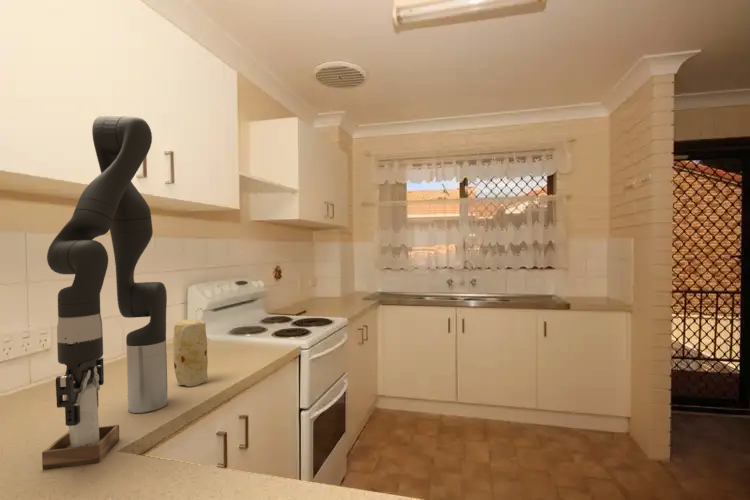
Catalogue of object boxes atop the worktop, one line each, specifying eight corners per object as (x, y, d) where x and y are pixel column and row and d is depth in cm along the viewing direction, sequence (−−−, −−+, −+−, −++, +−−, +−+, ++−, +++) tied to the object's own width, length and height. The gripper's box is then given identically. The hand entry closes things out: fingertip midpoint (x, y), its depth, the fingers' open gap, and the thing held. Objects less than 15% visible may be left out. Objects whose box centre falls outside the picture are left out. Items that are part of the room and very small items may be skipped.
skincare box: (100, 445, 81) (99, 386, 81) (73, 454, 78) (72, 393, 78) (93, 436, 85) (91, 380, 85) (67, 444, 82) (65, 386, 82)
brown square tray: (69, 445, 85) (69, 430, 85) (119, 439, 87) (119, 424, 87) (42, 469, 76) (42, 452, 76) (98, 462, 78) (98, 445, 78)
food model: (209, 379, 127) (208, 317, 127) (206, 386, 121) (204, 320, 121) (176, 382, 125) (175, 319, 125) (171, 389, 119) (169, 323, 119)
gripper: (78, 331, 88) (80, 405, 88) (37, 346, 74) (40, 435, 74) (115, 328, 89) (118, 401, 89) (83, 343, 75) (85, 430, 75)
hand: (82, 416), depth 82 cm, fingers closed on skincare box, 7 cm apart
